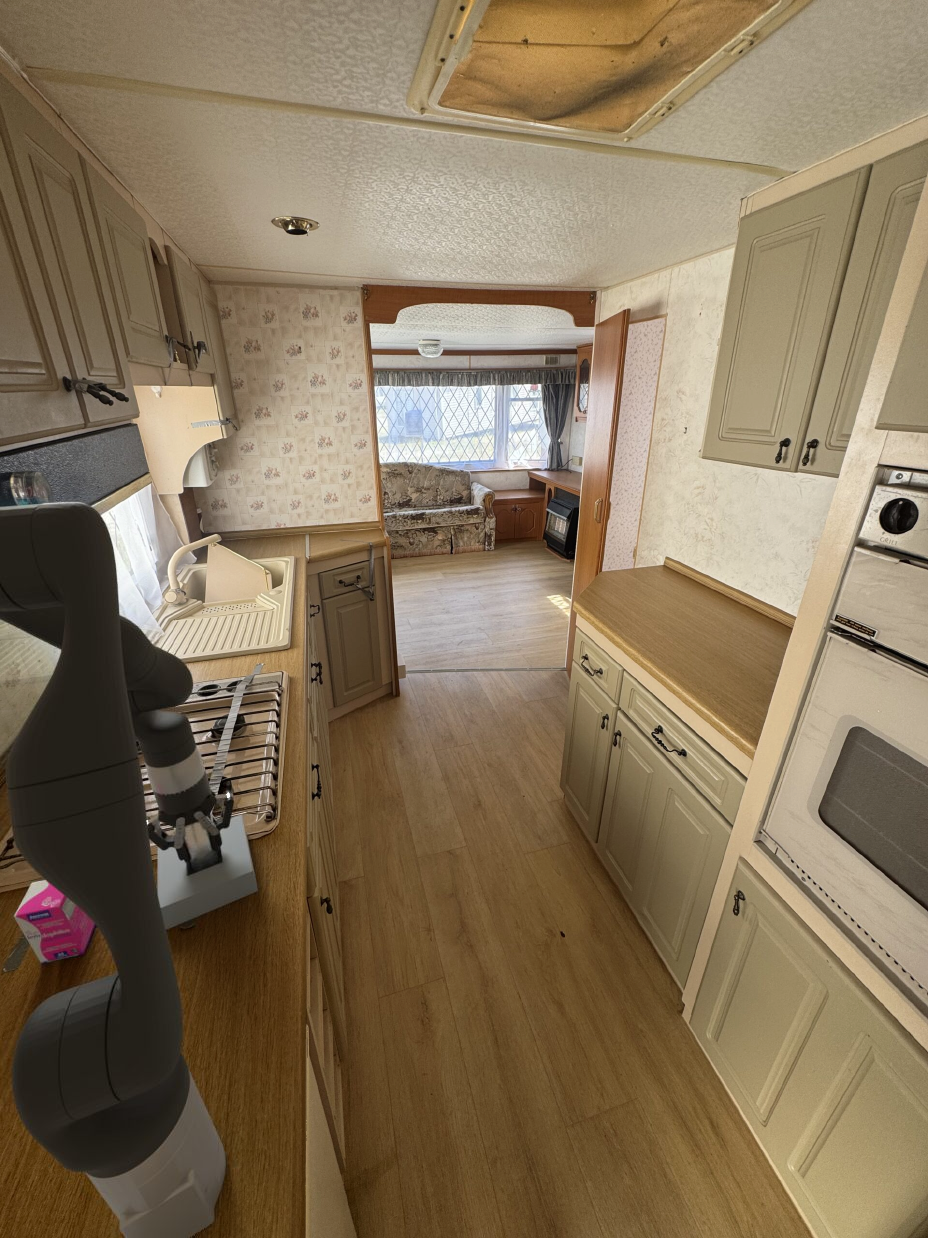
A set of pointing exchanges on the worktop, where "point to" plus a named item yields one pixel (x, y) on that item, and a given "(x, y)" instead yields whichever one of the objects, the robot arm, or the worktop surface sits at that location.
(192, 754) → the robot arm
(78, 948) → the supplement box
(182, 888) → the bore block
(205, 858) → the pin
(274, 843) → the worktop surface
